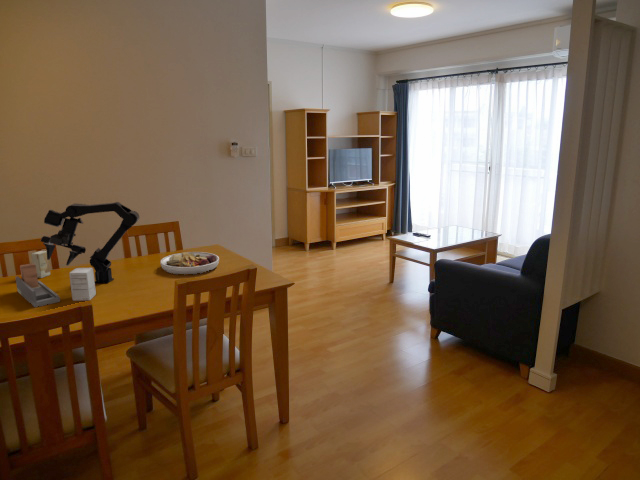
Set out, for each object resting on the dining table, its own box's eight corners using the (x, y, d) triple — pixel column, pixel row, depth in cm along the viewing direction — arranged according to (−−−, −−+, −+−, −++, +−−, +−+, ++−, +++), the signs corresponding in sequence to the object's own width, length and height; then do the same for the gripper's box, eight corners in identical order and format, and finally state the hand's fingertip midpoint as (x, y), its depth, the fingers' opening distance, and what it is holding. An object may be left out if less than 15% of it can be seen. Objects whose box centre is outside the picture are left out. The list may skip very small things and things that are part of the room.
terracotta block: (22, 286, 207) (19, 265, 205) (35, 284, 211) (32, 263, 208) (25, 289, 204) (22, 267, 201) (38, 286, 207) (35, 265, 205)
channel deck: (17, 291, 207) (15, 276, 205) (41, 286, 213) (39, 272, 212) (34, 307, 189) (32, 291, 187) (60, 301, 196) (58, 286, 194)
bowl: (150, 275, 233) (149, 260, 232) (175, 259, 262) (174, 245, 261) (207, 278, 230) (207, 263, 228) (226, 261, 259) (226, 248, 257)
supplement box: (79, 294, 204) (76, 267, 201) (96, 294, 205) (93, 267, 202) (71, 300, 197) (68, 272, 194) (89, 300, 197) (86, 272, 194)
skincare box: (41, 278, 225) (38, 254, 222) (33, 277, 226) (30, 253, 223) (51, 274, 231) (48, 250, 228) (43, 273, 232) (40, 250, 229)
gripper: (38, 222, 205) (27, 256, 204) (78, 234, 205) (67, 268, 204) (53, 225, 216) (42, 257, 215) (90, 236, 216) (80, 268, 215)
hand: (57, 262), depth 212 cm, fingers open, 9 cm apart
